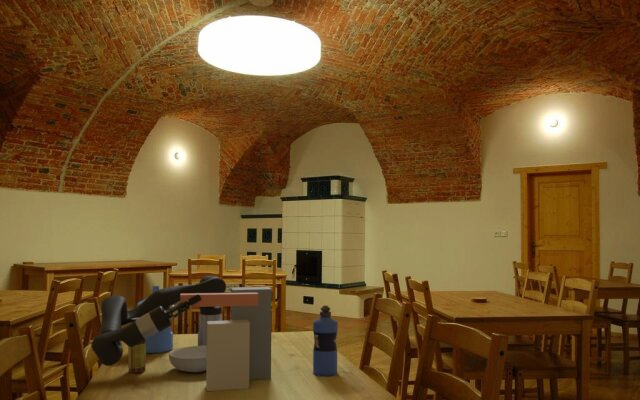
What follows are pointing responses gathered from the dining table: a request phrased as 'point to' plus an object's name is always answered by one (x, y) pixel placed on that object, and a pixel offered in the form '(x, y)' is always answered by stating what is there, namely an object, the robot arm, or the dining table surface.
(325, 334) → the water bottle
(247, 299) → the bar
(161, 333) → the water jug
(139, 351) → the sauce bottle
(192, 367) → the serving bowl
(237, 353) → the stand
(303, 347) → the dining table surface
